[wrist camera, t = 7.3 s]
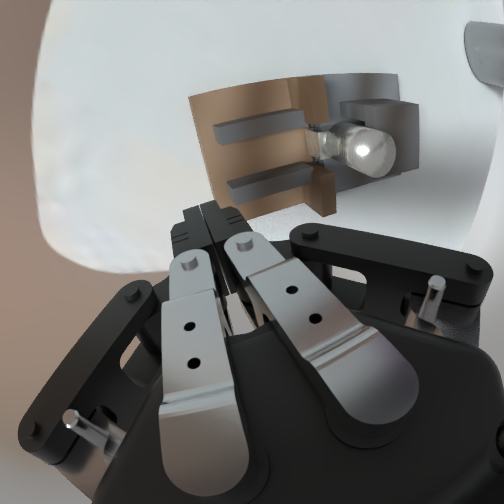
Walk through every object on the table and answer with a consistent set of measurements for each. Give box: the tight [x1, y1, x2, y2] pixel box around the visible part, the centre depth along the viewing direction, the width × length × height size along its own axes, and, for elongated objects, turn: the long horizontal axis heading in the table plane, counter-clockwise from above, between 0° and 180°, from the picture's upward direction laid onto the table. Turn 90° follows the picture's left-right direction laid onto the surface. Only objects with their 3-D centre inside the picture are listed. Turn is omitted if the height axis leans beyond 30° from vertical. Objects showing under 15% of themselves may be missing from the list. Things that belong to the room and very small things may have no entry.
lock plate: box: [188, 73, 419, 221], centre depth 19 cm, size 18×10×5 cm, turn 101°
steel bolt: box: [305, 120, 396, 178], centre depth 18 cm, size 8×3×6 cm, turn 101°
